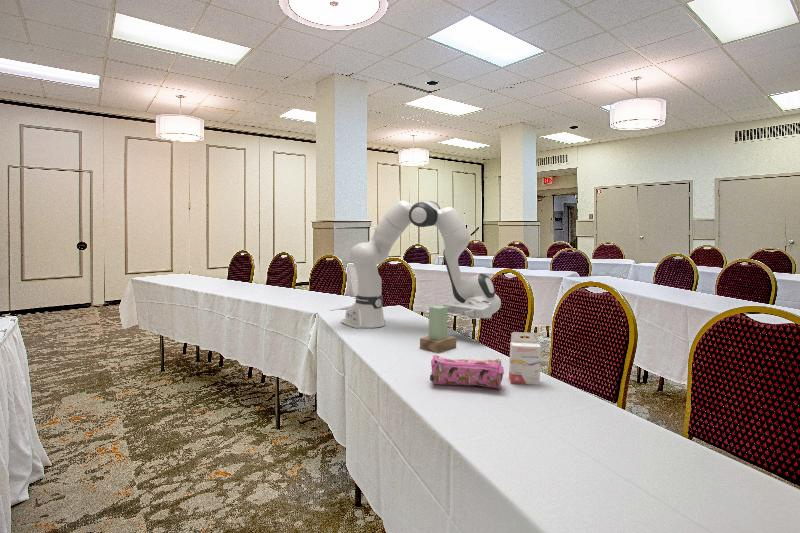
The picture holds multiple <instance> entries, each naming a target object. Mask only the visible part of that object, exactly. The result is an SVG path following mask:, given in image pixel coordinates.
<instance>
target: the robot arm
mask: <svg viewBox="0 0 800 533" xmlns="http://www.w3.org/2000/svg"><path fill="white" fill-rule="evenodd" d="M410 224H413V225H414V227H415V226H416V227H418V228H426V227H432V226H435V227H436V228H437V229H438V231H439V233H440V234H441V237H442V239H443V243H444V249H443V252H442V254H443V260H444V263H445V267H446V270H447V274H448V276H449V277H448V278H449V280H450V283H451V289H452V295H453V297H454V299H455V300H456V301H455V302H452V301H451V302H450V301H449V302H445V303H443V304H442V306H445V307H448V314H455V315H460V316H463V317H467V318H469V319H472V320H474V319H492V315H493V314H495V313H496V312H498V311H499V310H500V308H501V305H502V301H501V298H500V297H499V295H497V293H496V290H495V289H496V288H495V285H494V282H493V280H492V279H491V277H489V276H488V275H487V274H485V273H478V274H476V275H473V276H471V277H469V278H465V279H464V278H463V275H462V271H461V269H460V265H459V258H460V256H461V254H463V252H464V251H465V250H466V249H467V247H468V245H469V243H470V238H471V237H470V233H469V230H468V229H467V227H466V224H465V222H464V221H463V219H462V217H461V216H460V214H459V213H458V211H457V210H456V208H454V207H453V206H447V207H446V206H445V207H442V208H441V207H440V205H439V204H438V203H437V202H435V201H432V200H422V201H420V202H416V203H414V204H412V203H411V202H409V201H407V200H404V199H402V200H399V201H397V202H396V203H395V204H394V205H393V206H391V208H390V209H389V210H388V211H387V212H386V213H385V214H384V215H383V217H382V219H380V221H379V222H378V223H377V224H376V226H375V227H374V232H373V236H372V237H371V239H370V240H368V241H367V242H366V241H365V242H359V243H356V244H355V245H354V246H352V247H351V249H350V251H349V258H350V259H349V260H350V261H351V263H352V264H353V265H354V266H353V267H354V269H355V272H356V273H355V274H356V276H357V295H355V296H353V299H355V302H354V303H353V304H352V305H350V307H349V308H347V310H346V312H345V316H344V317H345V318H344V319H341V320H340V322H341V323H340V324H343V323H344V324H343V325H345V324H346V326H349V327H351V328H354V329H361V328H362V329H363V328H364V329H371V328H372V329H373V328H380V327H384V326H385V325H386V323H385V322H386V320H385V319H384V308H383V301H384V300H383V299H384V298H383V295H382V290H383V289H382V282H383V281H382V276H380V274H379V269H378V265H380V264H382V263H384V262H385V261H387V259H388V257H389V254H390V251H391V249H392V247H393V246H394V244H395V243H396V241H397V240H398V239H399V237H400V236H401V235H402V234H403V233H404V231H405V230H406V229H407V228H408V227H409V225H410Z"/></svg>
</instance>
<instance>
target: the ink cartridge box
mask: <svg viewBox="0 0 800 533" xmlns="http://www.w3.org/2000/svg"><path fill="white" fill-rule="evenodd" d="M510 335H511V336H510V343H509V345H510V346H509V368H508V370H509V371H508V379H509V381H510V383H511V384H518V385H519V384H522V385H538V386H539V385H540V380H541V379H540V378H541V357H542V356H541V355H542V346H541V345H540V343H539V341H538V340H539V334H538V333H537V332H520V331H519V332H518V331H517V332H516V331H515V332H514V331H513V332H511V333H510ZM524 336H525V337H524ZM523 337H524V338H523ZM526 337H527V338H526Z"/></svg>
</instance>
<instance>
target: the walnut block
mask: <svg viewBox="0 0 800 533" xmlns="http://www.w3.org/2000/svg"><path fill="white" fill-rule="evenodd" d="M456 348H457V337H456V336H451V335H447V338H445V339H441V340H436V339H432V338H429V335H427V336H424V337H420V338H419V349H420V350H424V351H428V352H432V353H436V354H440V353H443V352H446V351H450V350H453V349H456Z"/></svg>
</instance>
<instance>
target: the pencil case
mask: <svg viewBox="0 0 800 533" xmlns="http://www.w3.org/2000/svg"><path fill="white" fill-rule="evenodd" d="M430 362H431V363H430V365H431V366H430V367H431V374H430V376H429V381H430V382H432V384H433V385H440V386H441V385H442V386H443V385H451V386H478V387H485V388H493V389H498V390H499V389H501V388H502V387H501V386H502V381H503V376H504V374H505V370H504V366H503V365H502V360H501V359H499V358H497V359H484V360H478V359H459V358H458V359H452V358H447V357H442V356H439V355H436V354H434V355H432V358H431V360H430Z"/></svg>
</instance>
